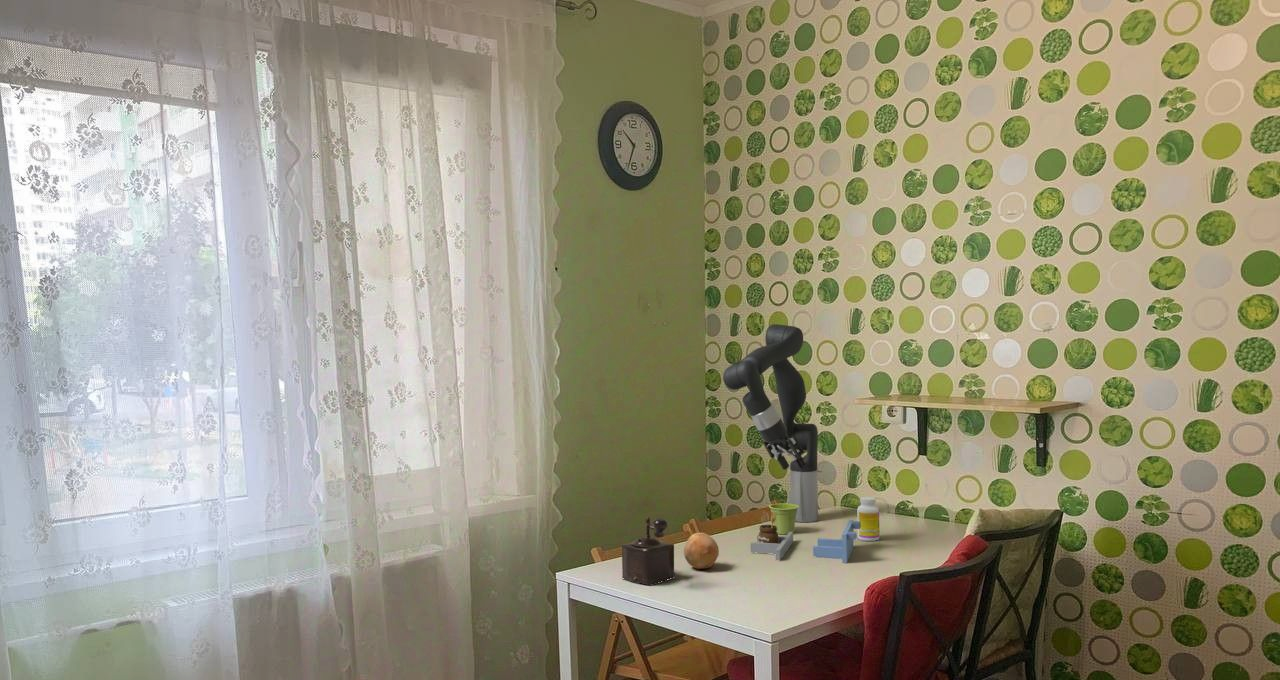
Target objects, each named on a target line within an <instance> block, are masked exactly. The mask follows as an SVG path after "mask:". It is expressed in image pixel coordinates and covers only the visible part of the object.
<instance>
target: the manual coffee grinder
mask: <svg viewBox="0 0 1280 680" xmlns="http://www.w3.org/2000/svg"><path fill="white" fill-rule="evenodd" d="M668 525H669V524H668V522H667V520H666V519H664V518H659V517H658V518H655V519H654V520H653V523H652V524H651V517H648V516H647V517H646V518H645V524H644V526H646V527H645V529H646V530H645V531H646V533H645V536H642V537H641V536H640V538H637V540H635V541H632V542H627V543H624V544H622V545H621V565H622V568H621V569H622V577H621V579H622V578H624V579H627V580H630V581H629V582H631V581H633V582H632V583H634V582H638V583H637V584H640V583H642V584H641V585H645V584H646V585H647V586H651V585H650V584H654V585H656V584H655V583H658V582H661V581H665V580H667V579H670V578H673V577H674V578H675V544H674V543H670V542H666V541H661V540H659V539H658V538H663V537H665V535H666V534H665V530H666V529H667V528H668ZM650 529H651V530H652V531H654V532H653V536H654V537H653V536H651V534H650ZM674 578H673V579H674ZM624 579H623V580H624ZM627 580H626V581H627ZM665 582H666V581H665ZM661 583H662V582H661ZM658 584H659V583H658Z"/></svg>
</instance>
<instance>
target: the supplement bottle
mask: <svg viewBox="0 0 1280 680" xmlns="http://www.w3.org/2000/svg"><path fill="white" fill-rule="evenodd" d="M859 500H860V501H859V502H860V505H859V506H858V507H857V511H856V513H857V516H856V517H857V518H856V519H857V520H856V521H859V522H861V528H860V529H857V538H858V539H859V541H863V542H877V541H878V540H880V508H879V507H878V506H877V505H876V501H877V499H876V498H875V497H872V496H862V497H860V499H859ZM876 540H877V541H876Z"/></svg>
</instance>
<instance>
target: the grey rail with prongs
mask: <svg viewBox="0 0 1280 680" xmlns="http://www.w3.org/2000/svg"><path fill="white" fill-rule="evenodd" d="M785 535H786V536H783V535H778V544H776V543H759V534H757V535H756V542H754V541H752V542H750V553H751V552H757V553H756V554H758V553H773V554H772V555H774V554H776V555H775V561H776V560H780V559H781V560H782V558H783V557H784V555H785V554H786V553H787V551H788V550H789V548H790V547H791V545H792V544H793V543H794V533H793V532H789V533H787V534H785ZM791 543H792V544H791ZM790 544H791V545H790ZM789 546H790V547H789ZM788 547H789V548H788ZM787 549H788V550H787ZM786 550H787V551H786ZM785 552H786V553H785ZM784 553H785V554H784ZM782 556H783V557H782ZM781 560H780V561H781Z"/></svg>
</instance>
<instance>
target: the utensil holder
mask: <svg viewBox="0 0 1280 680" xmlns="http://www.w3.org/2000/svg"><path fill="white" fill-rule="evenodd" d="M764 514H767V515H764V517H763V518H760V519H761V523H765V520H766V524H762V525H760V526H759V532H758V535H759V543H776V544H778V536H779V534H778V533H777V532H776V531H777V527H776V526H775V525H774V523H773V522H775V520H776V512H774V514H773V512H771V517H770V522H771V524H769V518H767V517H769V514H768V512H766V511H764ZM774 515H775V518H774ZM766 518H767V519H766Z"/></svg>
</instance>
